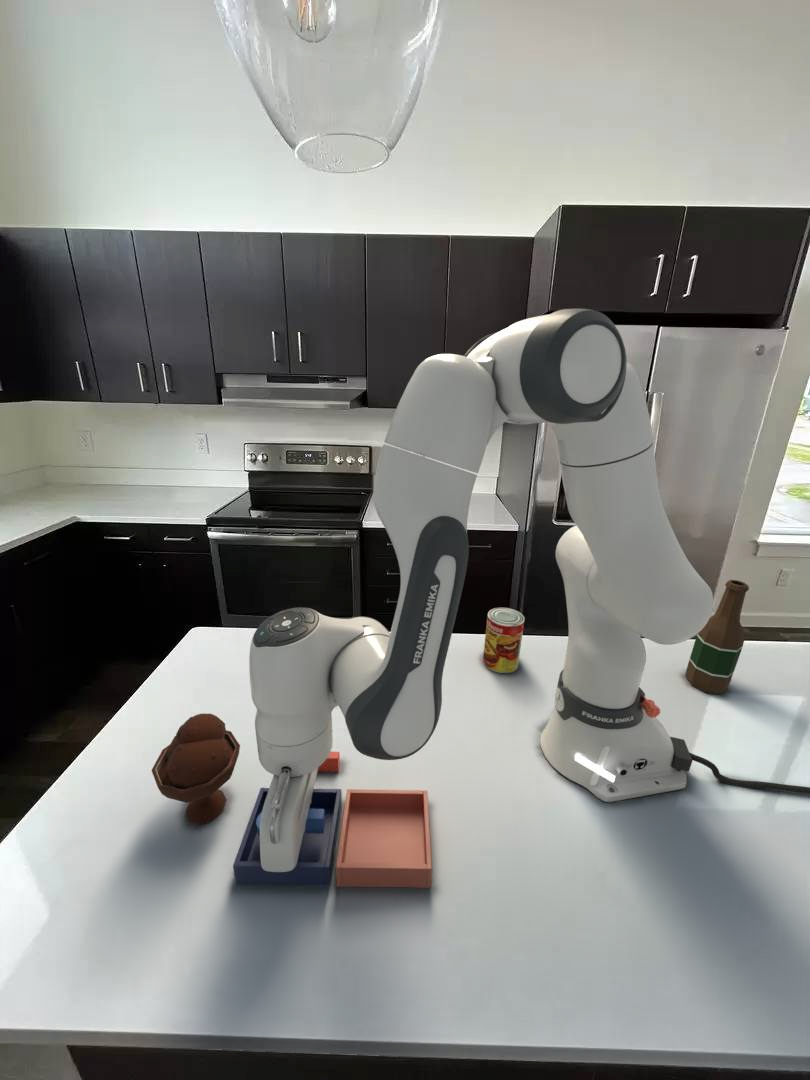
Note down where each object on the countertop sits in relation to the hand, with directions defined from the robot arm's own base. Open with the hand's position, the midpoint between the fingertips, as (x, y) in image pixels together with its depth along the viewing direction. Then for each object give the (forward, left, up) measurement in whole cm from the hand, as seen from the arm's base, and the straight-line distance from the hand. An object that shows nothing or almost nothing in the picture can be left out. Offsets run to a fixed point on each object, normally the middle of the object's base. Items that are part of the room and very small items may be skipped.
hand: (301, 817), depth 56 cm
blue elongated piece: (+2, 0, -2) cm, 2 cm away
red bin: (-11, 0, -5) cm, 12 cm away
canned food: (-36, -41, -5) cm, 54 cm away
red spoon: (+1, -12, -5) cm, 13 cm away
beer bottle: (-79, -35, -5) cm, 86 cm away
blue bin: (+1, 0, -5) cm, 5 cm away
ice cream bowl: (+15, -5, -5) cm, 17 cm away
